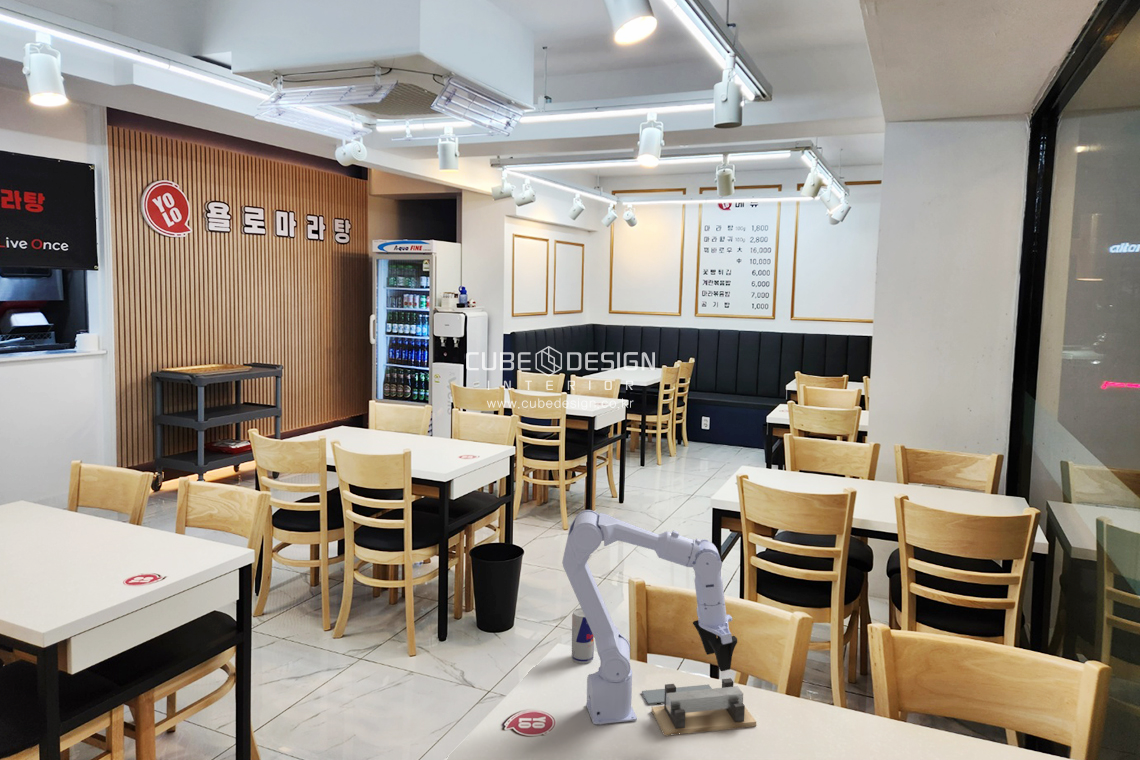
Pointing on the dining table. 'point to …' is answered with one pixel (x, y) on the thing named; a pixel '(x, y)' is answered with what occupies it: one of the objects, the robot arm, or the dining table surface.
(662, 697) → the mat
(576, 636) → the energy drink
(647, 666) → the dining table surface
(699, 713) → the rack
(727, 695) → the rail
